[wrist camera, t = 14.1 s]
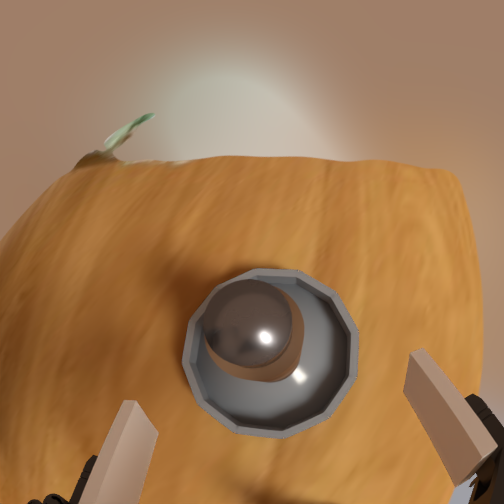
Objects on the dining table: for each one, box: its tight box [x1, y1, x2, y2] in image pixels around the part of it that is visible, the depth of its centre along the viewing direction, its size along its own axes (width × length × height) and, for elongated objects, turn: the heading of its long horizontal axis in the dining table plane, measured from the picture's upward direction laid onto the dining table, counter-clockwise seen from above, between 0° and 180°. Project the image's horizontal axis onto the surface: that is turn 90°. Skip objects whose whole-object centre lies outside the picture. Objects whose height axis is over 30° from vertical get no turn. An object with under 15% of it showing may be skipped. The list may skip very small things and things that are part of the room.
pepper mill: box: [203, 279, 304, 383], centre depth 17 cm, size 5×5×13 cm
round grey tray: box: [182, 268, 359, 439], centre depth 23 cm, size 15×15×2 cm
